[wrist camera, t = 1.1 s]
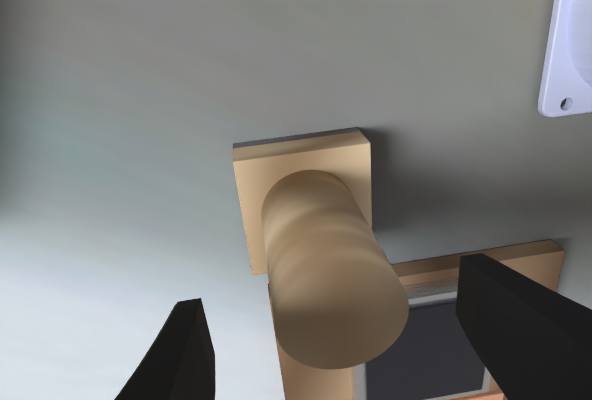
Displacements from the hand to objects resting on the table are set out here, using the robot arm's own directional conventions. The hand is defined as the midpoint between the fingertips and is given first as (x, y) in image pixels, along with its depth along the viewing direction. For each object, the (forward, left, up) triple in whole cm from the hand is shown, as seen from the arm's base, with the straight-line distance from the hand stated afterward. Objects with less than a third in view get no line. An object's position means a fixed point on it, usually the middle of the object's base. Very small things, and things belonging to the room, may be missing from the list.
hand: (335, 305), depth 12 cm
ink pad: (-5, +8, -6) cm, 12 cm away
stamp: (0, 0, -7) cm, 7 cm away
